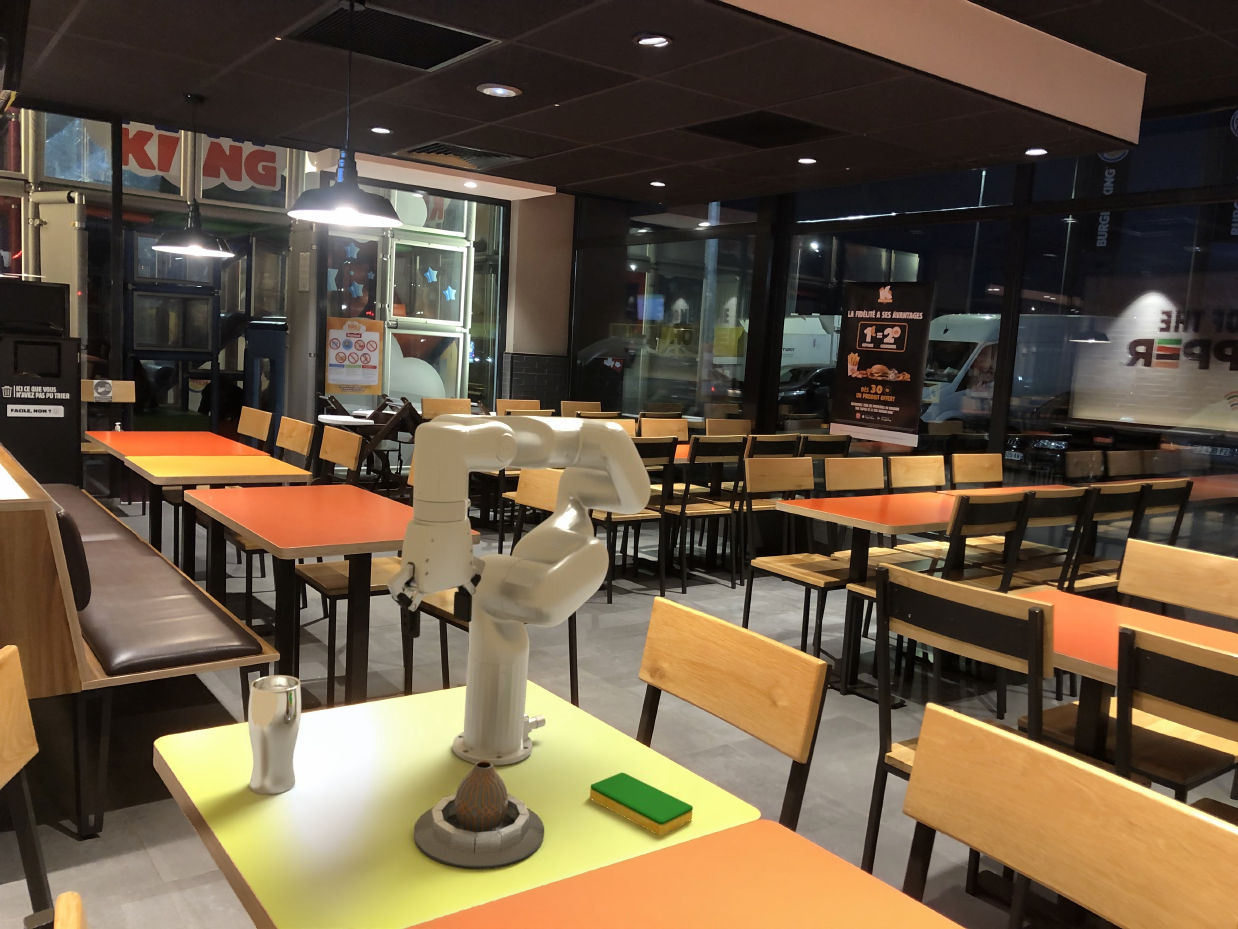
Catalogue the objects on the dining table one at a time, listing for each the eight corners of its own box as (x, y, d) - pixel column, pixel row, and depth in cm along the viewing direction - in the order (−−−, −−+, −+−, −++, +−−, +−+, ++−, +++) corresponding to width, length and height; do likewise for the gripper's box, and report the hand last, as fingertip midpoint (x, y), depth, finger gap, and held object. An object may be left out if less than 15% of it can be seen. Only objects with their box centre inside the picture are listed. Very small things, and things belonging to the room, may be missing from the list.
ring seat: (488, 791, 134) (489, 771, 134) (570, 838, 123) (571, 816, 123) (387, 829, 122) (388, 807, 121) (468, 885, 110) (470, 862, 110)
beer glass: (281, 800, 127) (284, 695, 125) (235, 791, 129) (238, 688, 127) (307, 778, 134) (311, 678, 132) (264, 770, 135) (267, 671, 134)
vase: (482, 847, 118) (486, 781, 117) (442, 829, 121) (445, 765, 120) (516, 826, 123) (520, 763, 122) (477, 809, 127) (481, 748, 126)
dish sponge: (621, 786, 140) (622, 771, 140) (692, 822, 130) (694, 806, 130) (588, 800, 135) (589, 784, 134) (660, 839, 125) (661, 822, 125)
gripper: (467, 499, 139) (463, 609, 141) (373, 513, 125) (371, 635, 128) (503, 507, 134) (498, 620, 137) (409, 523, 121) (406, 649, 123)
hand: (437, 627), depth 132 cm, fingers open, 9 cm apart
